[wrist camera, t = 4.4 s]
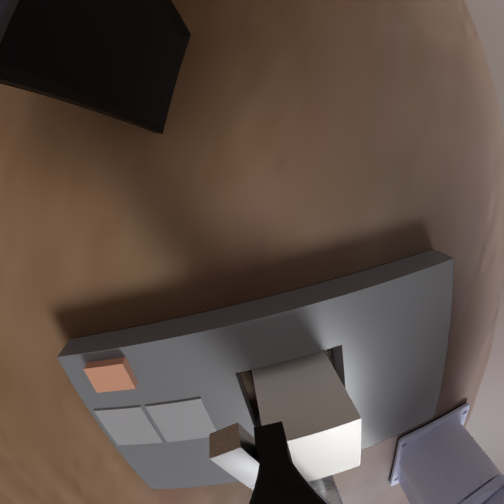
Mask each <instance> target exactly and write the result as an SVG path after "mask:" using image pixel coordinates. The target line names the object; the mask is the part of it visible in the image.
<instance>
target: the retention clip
mask: <svg viewBox="0 0 504 504" xmlns="http://www.w3.org/2000/svg"><path fill="white" fill-rule="evenodd" d="M209 458H210V460H212V461H213V462H214V463H216V464H217V465H218V466H220V467H221V468H222V469H224V470H225V471H226V472H228V473H229V474H230V475H232V476H233V477H235V478H236V479H237V480H239V481H240V482H242V483H243V484H245V485H246V486H248V487H249V488H251V489H252V490H254V486H255V483H256V479H257V475H258V470H259V465H260V461H259V457H258V453H257V449H256V446H255V438H254V437H253V436H252V435H251V434H250V433H249V432H248V431H247V430H246V429H244V428H243V427H242V426H241V425H240V424H239V423H238V422H237V423H235V424H233V425H230V426H228V427H225V428H223V429H220V430H218V431H215V432H213V433H210V434H209ZM307 483H308V484H309V485H310V486H311V487H312V489H313V490H314V491H315V492H316V493H317V494H318V495H319V496H320V497H321V498H322V499H323V500H324V501H325V502H326V503H327V504H343V503H342V500H341V498H340V495H339V492H338V490H337V487H336V484H335V481H334V479H333V476H332V475H330V476H327V477H324V478H320V479H317V480H313V481H310V482H307Z"/></svg>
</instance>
